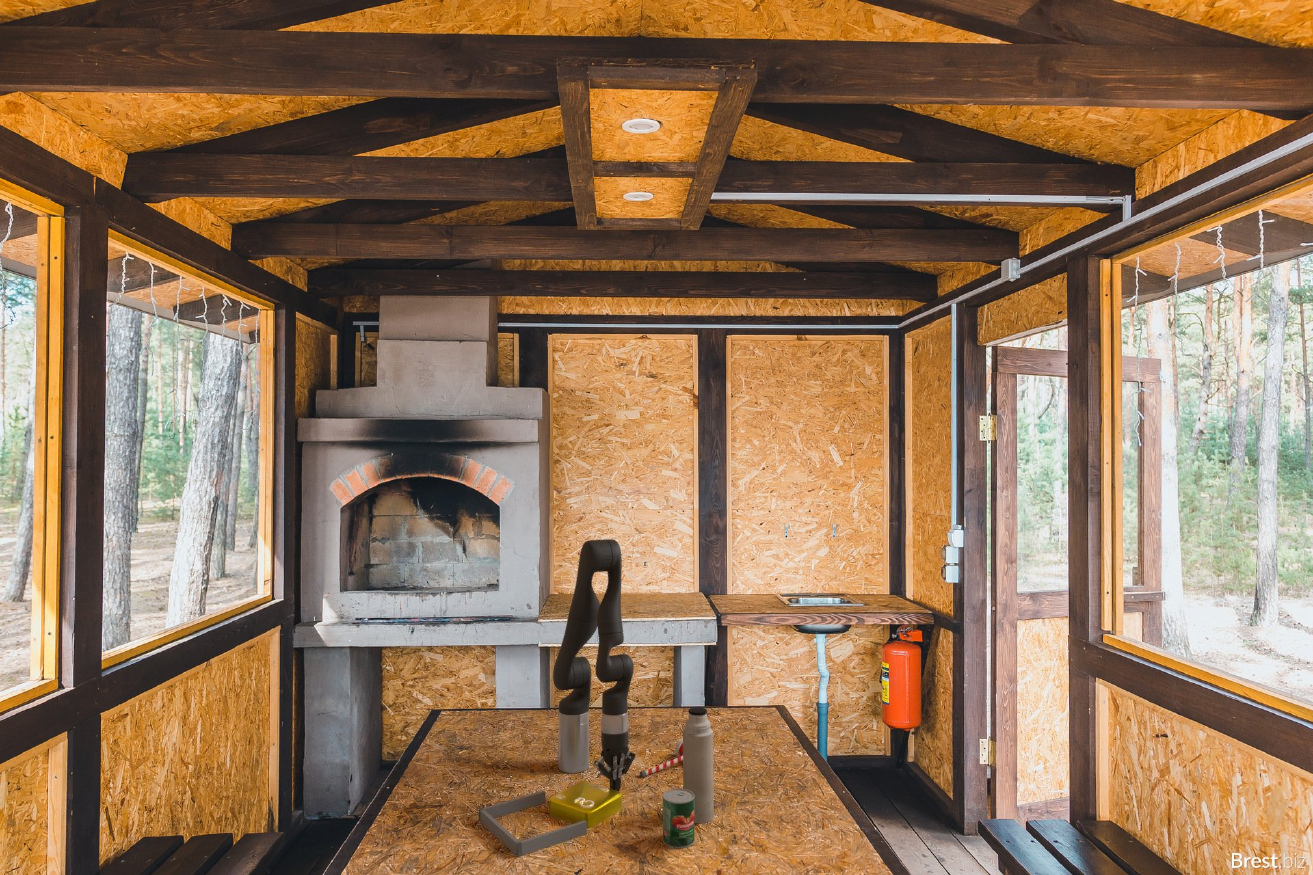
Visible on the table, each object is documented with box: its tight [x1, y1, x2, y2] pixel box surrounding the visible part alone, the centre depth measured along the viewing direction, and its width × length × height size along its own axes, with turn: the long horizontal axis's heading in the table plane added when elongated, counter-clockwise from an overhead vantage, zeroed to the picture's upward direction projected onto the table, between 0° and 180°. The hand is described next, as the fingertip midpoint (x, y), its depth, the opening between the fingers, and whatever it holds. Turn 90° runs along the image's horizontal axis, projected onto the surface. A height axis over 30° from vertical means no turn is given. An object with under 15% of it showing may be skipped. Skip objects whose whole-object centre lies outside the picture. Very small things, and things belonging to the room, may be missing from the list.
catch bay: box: [478, 790, 588, 858], centre depth 196 cm, size 23×19×3 cm
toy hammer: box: [639, 737, 683, 779], centre depth 233 cm, size 23×12×6 cm, turn 124°
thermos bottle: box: [682, 706, 715, 824], centre depth 202 cm, size 8×8×28 cm
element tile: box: [549, 780, 623, 829], centre depth 205 cm, size 15×15×5 cm
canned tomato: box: [662, 788, 696, 849], centre depth 189 cm, size 8×8×11 cm
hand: (615, 791), depth 211 cm, fingers closed
